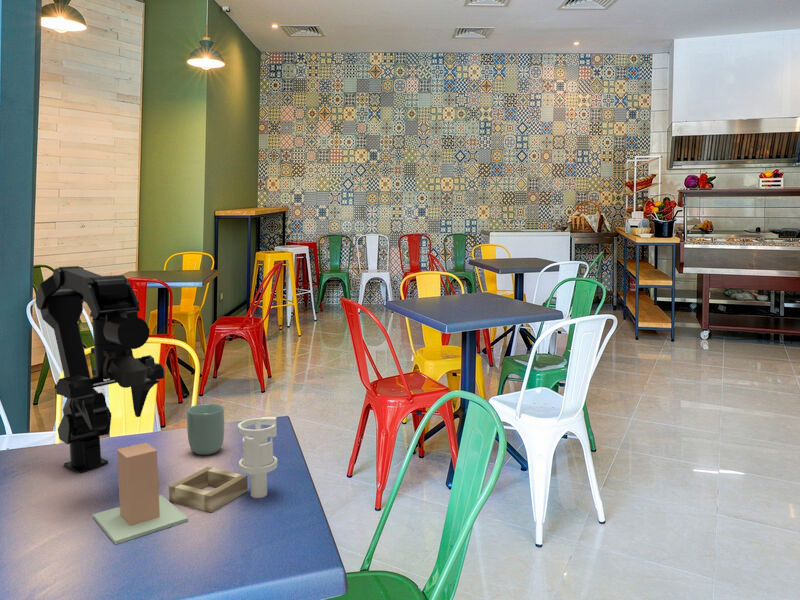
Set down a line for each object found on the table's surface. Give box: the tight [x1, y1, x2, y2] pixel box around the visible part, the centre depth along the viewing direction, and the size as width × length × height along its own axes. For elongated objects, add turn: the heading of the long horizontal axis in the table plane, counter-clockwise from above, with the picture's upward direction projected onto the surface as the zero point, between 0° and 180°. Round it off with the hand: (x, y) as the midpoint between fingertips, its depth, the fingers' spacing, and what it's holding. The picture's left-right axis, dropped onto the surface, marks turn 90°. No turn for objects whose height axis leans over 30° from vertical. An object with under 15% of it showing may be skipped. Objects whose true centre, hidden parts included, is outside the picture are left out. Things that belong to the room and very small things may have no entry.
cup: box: [186, 403, 225, 456], centre depth 140 cm, size 8×8×10 cm
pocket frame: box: [168, 466, 249, 513], centre depth 118 cm, size 10×10×3 cm
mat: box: [92, 494, 189, 545], centre depth 109 cm, size 12×12×1 cm
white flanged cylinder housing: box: [237, 416, 278, 499], centre depth 118 cm, size 7×7×15 cm
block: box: [116, 442, 160, 526], centre depth 108 cm, size 5×5×12 cm
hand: (115, 422), depth 120 cm, fingers open, 9 cm apart
